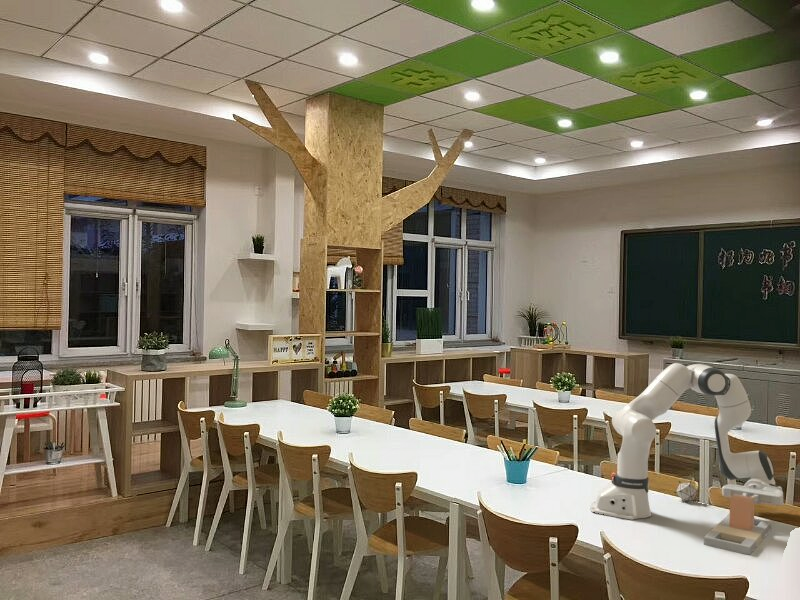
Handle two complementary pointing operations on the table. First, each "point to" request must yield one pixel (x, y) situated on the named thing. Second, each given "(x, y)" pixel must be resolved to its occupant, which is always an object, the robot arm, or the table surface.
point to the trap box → (737, 536)
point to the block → (741, 512)
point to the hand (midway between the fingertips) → (747, 499)
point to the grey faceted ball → (686, 491)
